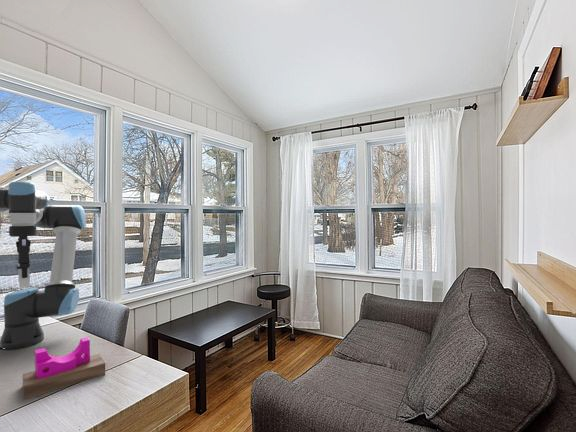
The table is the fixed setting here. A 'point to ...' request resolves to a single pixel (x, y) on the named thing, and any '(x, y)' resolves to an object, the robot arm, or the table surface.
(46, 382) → the base brick
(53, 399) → the table surface
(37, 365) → the toy block
